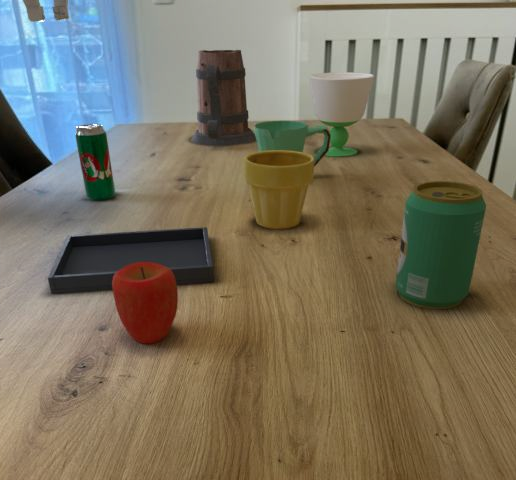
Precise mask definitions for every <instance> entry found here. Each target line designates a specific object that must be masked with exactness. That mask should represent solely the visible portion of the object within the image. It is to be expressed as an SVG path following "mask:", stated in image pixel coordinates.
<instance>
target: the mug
mask: <svg viewBox="0 0 516 480" xmlns="http://www.w3.org/2000/svg"><path fill="white" fill-rule="evenodd" d="M253 130H254V131H253V132H254V135H255V136H256V140H255V141H256V144H257V149H258V152H260V151H268V150H288V151H298V152H303V153H304V148H305V144H306V143H305V142H306V139H307V138H308V137H311V136H313V135H316V134H323V136H324V137H323V143H322V145H321V146H320V148H319V149H320V150H319V149H318V150H319V151H318V150H317V151H318V152H316V154H315V155H314V156H313V157H314V168H315V167H316V166H317V165H318V164H319V162H321V160H322V159H323V158H324V157H325V156H324V155H325V154H326V153H327V152H328V150H329V147H330V145H331V144H330V138H331V132H330V130H329V128H328V126H327V125H326V124H321V125H314V126H310V127H309V125H308V123H306V122H303V121H298V120H297V121H295V120H269V121H262V122H258V123H256V124H255V125H254V126H253Z"/></svg>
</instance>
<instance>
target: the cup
mask: <svg viewBox="0 0 516 480" xmlns="http://www.w3.org/2000/svg"><path fill="white" fill-rule="evenodd" d="M374 79H375V75H374V74H373V73H366V72H349V71H347V72H344V71H342V72H341V71H340V72H339V71H338V72H320V73H314V74H311V75H309V82H310V90H311V96H312V102H313V110H314V115H315V116H316V118H317V120H318V121H319V122H320V123H321V124H323V125H325V126H327V127H332V128H330V130H329V131H330V132H331V138H330V144H329V145H330V146H329V150H328V152H327V153H326V154H325V155H324V157H335V158H340V157H342V158H343V157H351V156H354V155H357V154H358V150H357V149H355V148H351V147H347V146H345V145H346V144H347V143H348V141H349V140H348V139H349V138H350V137H349V132H348V130H347V129H346V127H350V126H352V125H354V124H357V123H358V122H359V121H360V120H362V118H363V117H364V115H365V113H366V110H367V105H368V102H369V98H370V94H371V90H372V86H373V82H374ZM344 146H345V147H344ZM319 150H320V148H319V149H318V150H317V152H316V153H318V151H319Z"/></svg>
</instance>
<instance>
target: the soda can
mask: <svg viewBox="0 0 516 480" xmlns="http://www.w3.org/2000/svg"><path fill="white" fill-rule="evenodd" d="M74 135H75V141H76V147H77V152H78V158H79V163H80V164H79V165H80V169H81V174H82V179H83V185H84V190H85V191H84V192H85V196H86V198H87V199H88V200H90V201H95V202H102V201H108V200H111V199H113V198H115V195H116V188H115V187H116V186H115V181H114V174H113V169H112V161H111V155H110V148H109V143H108V135H107V131H106V130H105V129H104V126H103V125H102V124H100V123H91V124H90V123H89V124H81V125H77V126H76V131H75V134H74Z"/></svg>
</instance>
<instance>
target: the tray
mask: <svg viewBox="0 0 516 480" xmlns="http://www.w3.org/2000/svg"><path fill="white" fill-rule="evenodd" d="M211 251H212V250H211V243H210V238H209V231H208V227H207V226H203V227H202V226H201V227H184V228H169V229H153V230H137V231H123V232H120V231H119V232H106V233H105V232H104V233H88V234H73V235H67V236H66V237H65V240H64V242H63V244H62V246H61V249H60V251H59V253H58V256H57V257H56V259H55V262H54V263H53V266H52V268H51V270H50V273H49V275H48V276H47V280H48V285H49V289H50V294H51V295H52V294H53V295H54V294H55V295H56V294H69V293H71V294H72V293H83V292H97V291H98V292H99V291H111V290H112V291H113V287H112V281H113V276H114V274H115V273H116V272H117V271H119V270H120V269H122V268H124V267H125V266H127V265H130V264H133V263H139V262H152V263H156V264H160V265H162V266H165V267H167V268H170V269H171V271H172V272H173V274H174V276H175V280H176V285H177V286H180V285H192V284H193V285H194V284H208V283H215V273H214V264H213V263H214V262H213V256H212V252H211Z"/></svg>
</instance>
